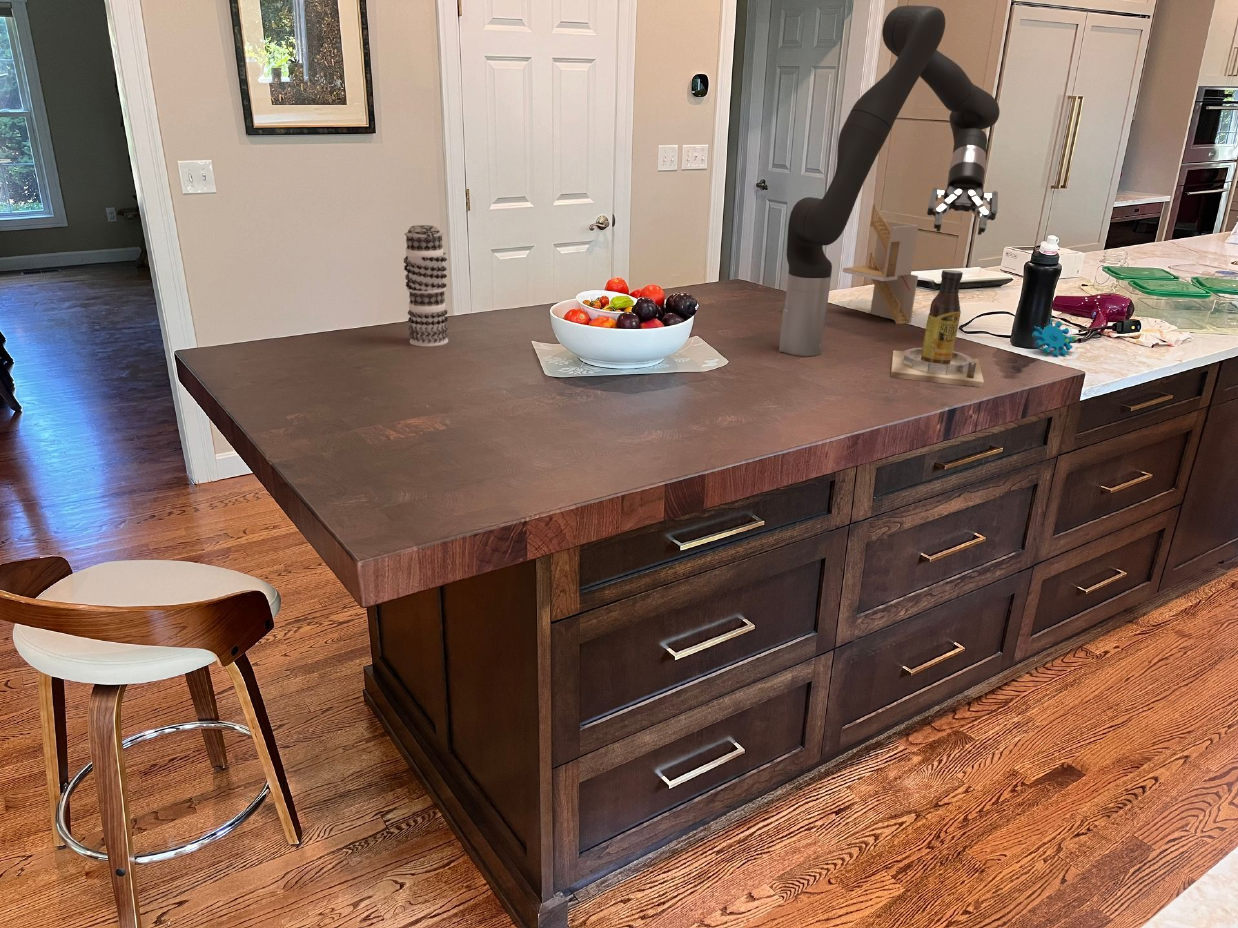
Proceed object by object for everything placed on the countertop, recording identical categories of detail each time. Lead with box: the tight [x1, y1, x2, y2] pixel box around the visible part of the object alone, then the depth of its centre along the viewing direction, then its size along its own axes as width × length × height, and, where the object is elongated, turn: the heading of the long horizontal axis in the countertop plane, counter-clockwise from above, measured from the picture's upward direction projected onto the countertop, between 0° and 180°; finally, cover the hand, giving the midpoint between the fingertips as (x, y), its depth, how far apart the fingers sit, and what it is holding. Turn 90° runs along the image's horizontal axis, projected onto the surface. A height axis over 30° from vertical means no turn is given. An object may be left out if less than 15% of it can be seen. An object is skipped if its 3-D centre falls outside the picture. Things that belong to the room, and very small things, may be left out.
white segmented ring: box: [903, 347, 976, 378], centre depth 188 cm, size 14×14×3 cm
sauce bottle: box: [921, 269, 964, 364], centre depth 186 cm, size 6×6×20 cm
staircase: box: [842, 203, 919, 325], centre depth 228 cm, size 10×16×29 cm, turn 35°
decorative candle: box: [403, 224, 449, 348], centre depth 193 cm, size 9×9×25 cm
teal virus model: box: [1031, 317, 1078, 358], centre depth 207 cm, size 11×6×10 cm
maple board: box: [890, 350, 985, 388], centre depth 189 cm, size 18×18×1 cm
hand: (959, 230), depth 192 cm, fingers open, 8 cm apart
